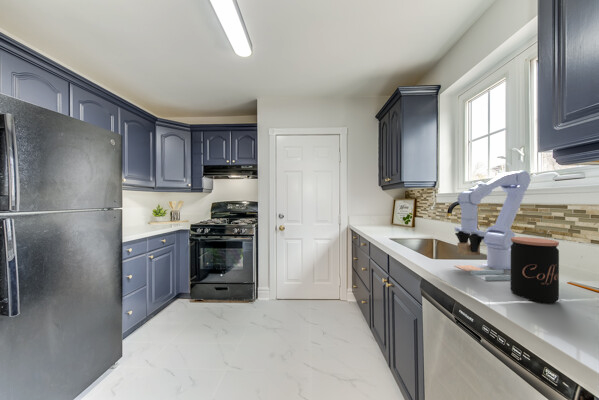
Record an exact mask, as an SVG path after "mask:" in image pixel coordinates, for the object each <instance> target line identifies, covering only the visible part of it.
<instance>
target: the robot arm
mask: <svg viewBox="0 0 599 400" xmlns="http://www.w3.org/2000/svg"><path fill="white" fill-rule="evenodd" d="M531 181H532V179H531V176H530V173H529V172H528V171H526V170H519V171H517V170H516V171H509V172H508V171H507V172H500V173H499V174H496V175H495V177H493V178H492V179H491V180H489V181H488V182H478V183H476V185H475V186H474V187H470V188H469V189H468V190H467V191H461V192H460V193H459V194H458V195H457V196H458V197H457V199H456V200H457V202H458V204H459V207H460V214H461V215H460V226H455V227H454V232H455V236H456V237H457V239H458V243H460V242H470V244H471V251H472V252H477V251H478V248H479V245H480V246H481V243H482V242H483V244H484V245H485V247H486V251H487V252H486V263H482V265H483V266H486V267H489V268H492V269H494V270H511V245H512V244H513V242H512V241H511V238H512V237H516V233H515V232H514V231H513V230H512V229H511V228H512V226H513V224H514V220H515V218H516V215H517V213H518V211H519V209H520V206H521V204H522V201H523V199H524V197H525V194H526V192H527V190H528V187H529V185H530V183H531ZM499 187H500V188H501V189H502V191H503V192H504V193H506V194H507V195H506V198H505V200H504V202H503V205H502V207H501V210H500V212H499V213H498V216H497V219H496V221H495V223H494V224H493V225H491V226H489V227H487V229H486V231H485V230H480V229H478V205H479V204H480V203H481V201H482V199H484V198H485V197H487V196H489V195H491V194H492V192H493V190H495V189H496V188H499Z"/></svg>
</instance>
